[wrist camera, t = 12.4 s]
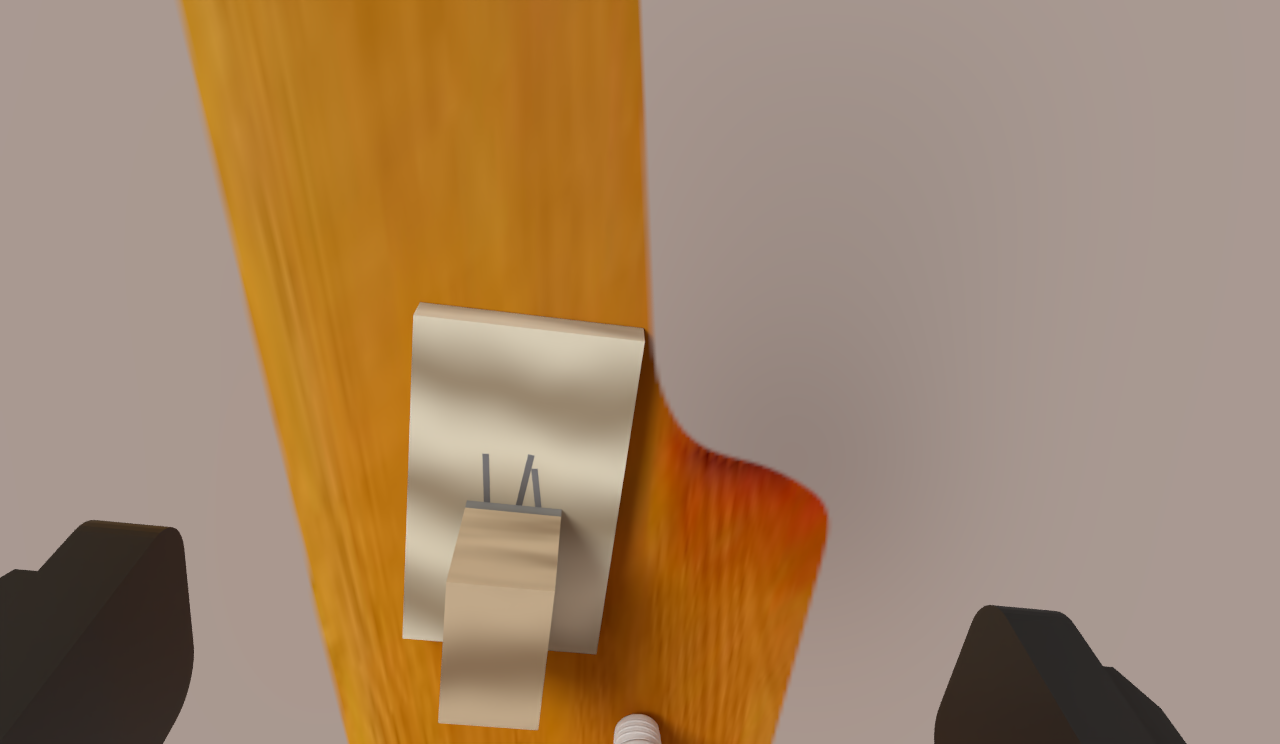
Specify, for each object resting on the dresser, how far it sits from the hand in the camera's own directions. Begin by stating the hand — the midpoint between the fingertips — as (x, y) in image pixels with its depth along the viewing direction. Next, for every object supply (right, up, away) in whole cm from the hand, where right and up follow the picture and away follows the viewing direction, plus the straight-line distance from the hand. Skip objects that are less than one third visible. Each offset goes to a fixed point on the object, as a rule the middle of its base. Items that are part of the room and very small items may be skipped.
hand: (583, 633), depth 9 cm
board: (-5, -3, +35) cm, 35 cm away
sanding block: (-6, -7, +35) cm, 36 cm away
